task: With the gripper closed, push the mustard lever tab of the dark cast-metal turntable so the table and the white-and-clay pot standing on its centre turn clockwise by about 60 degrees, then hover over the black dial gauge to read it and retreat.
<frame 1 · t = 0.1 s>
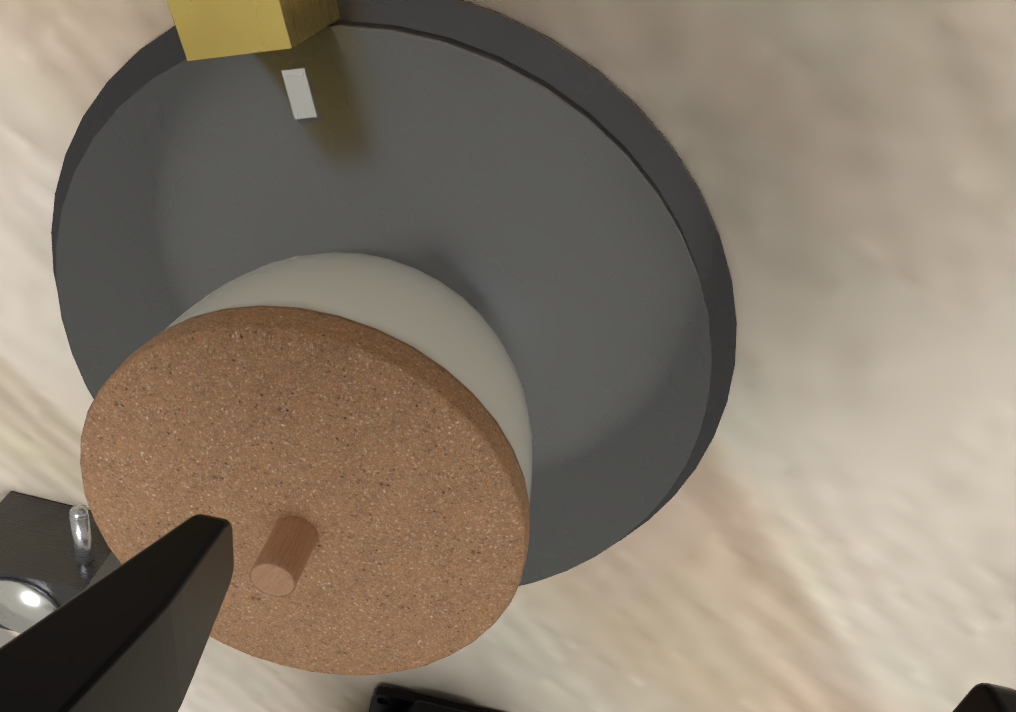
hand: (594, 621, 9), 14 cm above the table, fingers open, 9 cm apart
lidded jar: (386, 355, 25), resting on turntable, touching turntable base
turntable base: (387, 349, 25), on the table
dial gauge: (76, 536, 33), on the table
turntable: (348, 318, 22), point 2 cm above the table, hinge at 0.0°, touching lidded jar
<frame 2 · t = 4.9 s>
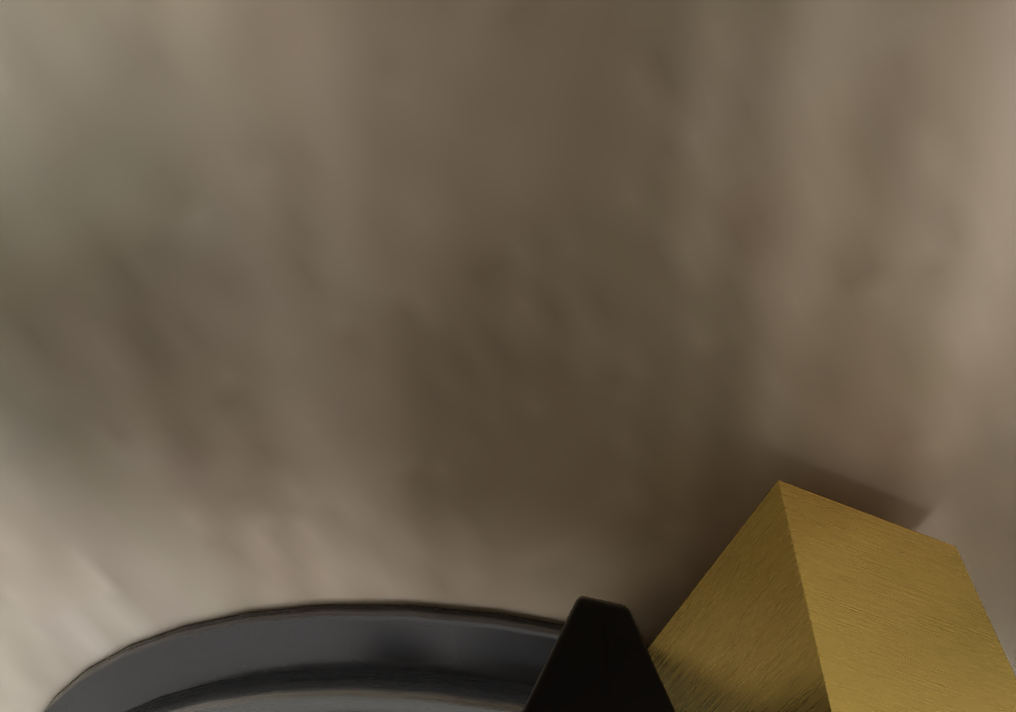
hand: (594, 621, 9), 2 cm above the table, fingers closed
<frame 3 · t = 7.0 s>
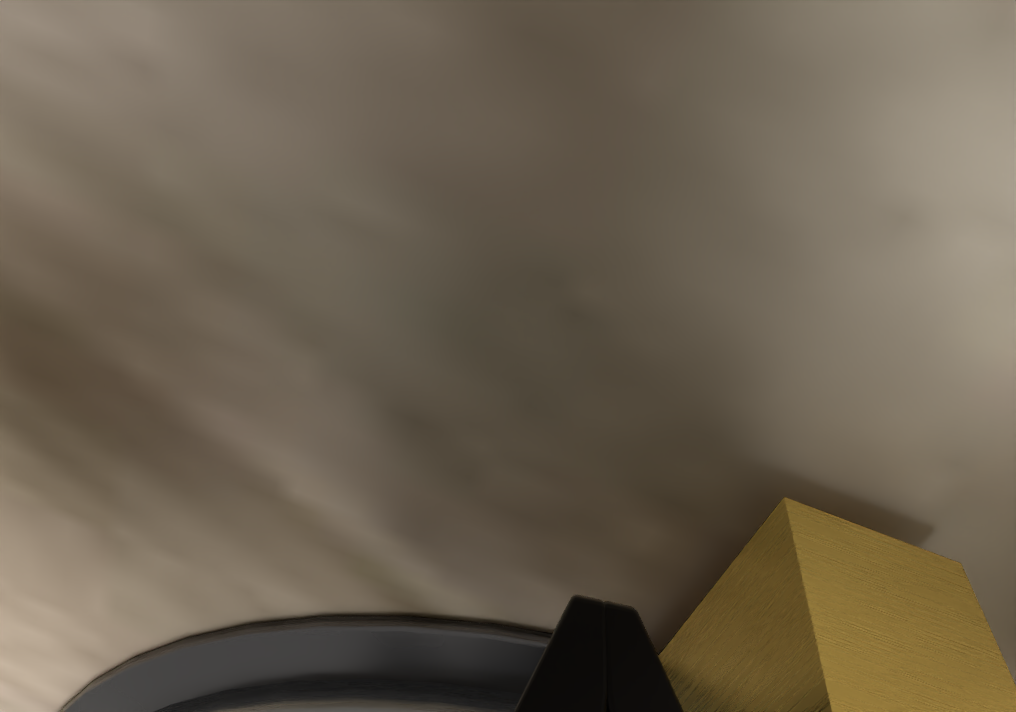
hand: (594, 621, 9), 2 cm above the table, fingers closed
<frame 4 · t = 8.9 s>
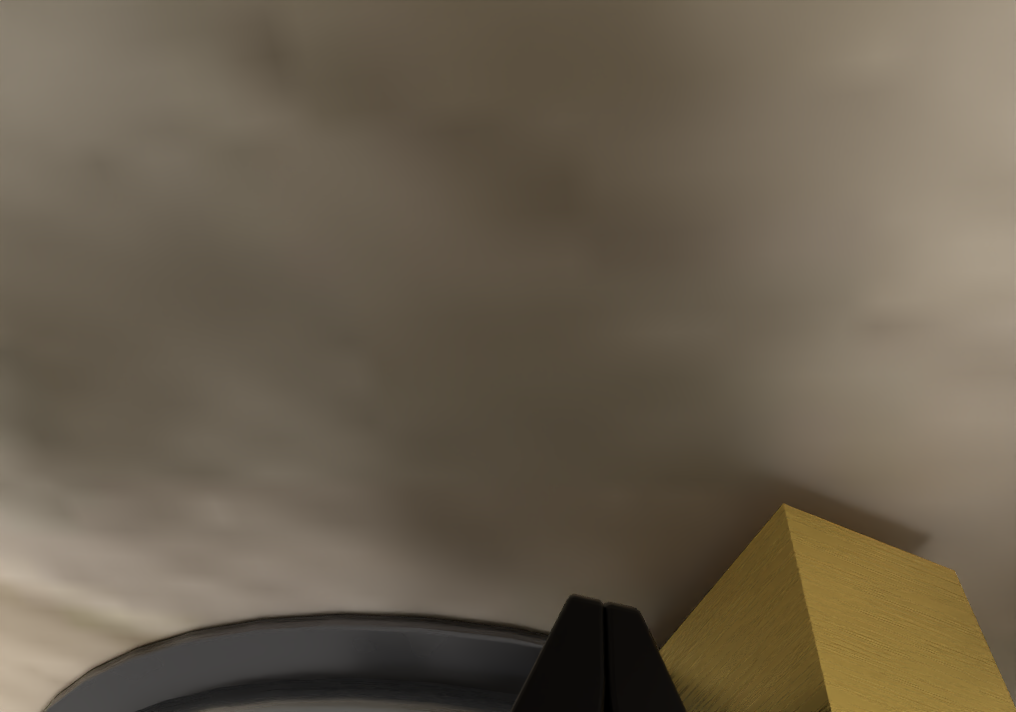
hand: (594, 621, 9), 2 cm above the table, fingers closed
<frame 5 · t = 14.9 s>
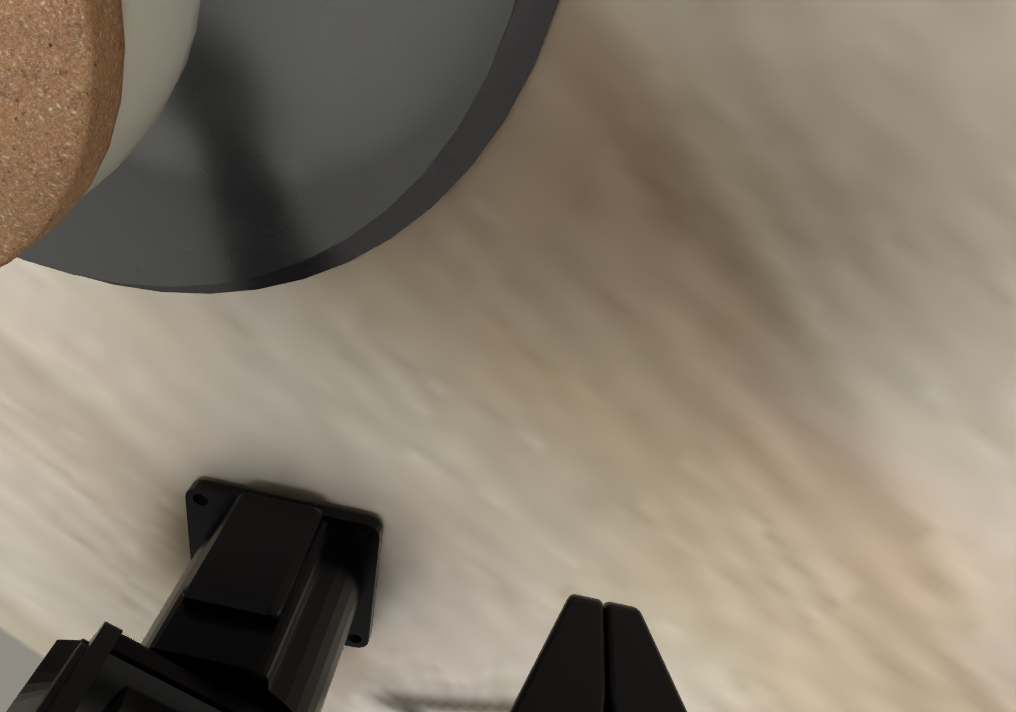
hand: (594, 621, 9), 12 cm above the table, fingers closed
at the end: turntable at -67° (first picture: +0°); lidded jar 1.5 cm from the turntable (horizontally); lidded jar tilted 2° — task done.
